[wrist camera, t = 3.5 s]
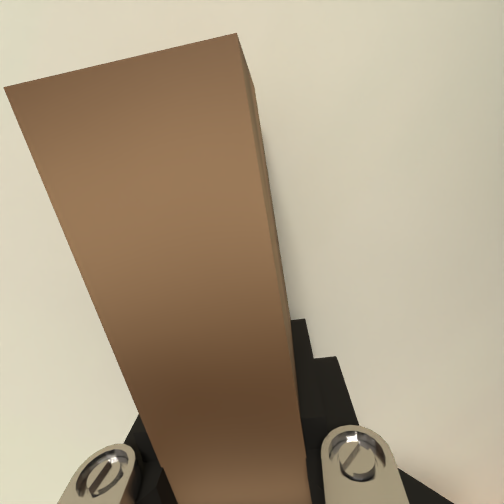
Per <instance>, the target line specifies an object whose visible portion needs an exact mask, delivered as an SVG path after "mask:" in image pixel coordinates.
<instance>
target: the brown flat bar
mask: <svg viewBox="0 0 504 504" xmlns="http://www.w3.org/2000/svg"><path fill="white" fill-rule="evenodd" d="M4 90H5V92H6V95H7V97H8V99H9V102H10V104H11V107H12V109H13V111H14V114H15V116H16V119H17V121H18V124H19V126H20V128H21V131H22V133H23V136H24V138H25V140H26V143H27V145H28V148H29V150H30V152H31V155H32V157H33V160H34V162H35V164H36V167H37V169H38V172H39V174H40V176H41V179H42V181H43V184H44V186H45V189H46V191H47V193H48V196H49V198H50V201H51V203H52V205H53V208H54V210H55V213H56V215H57V217H58V220H59V222H60V225H61V227H62V229H63V232H64V234H65V237H66V239H67V241H68V244H69V246H70V249H71V251H72V254H73V256H74V258H75V261H76V263H77V266H78V268H79V270H80V273H81V275H82V278H83V280H84V282H85V285H86V287H87V290H88V292H89V294H90V297H91V299H92V302H93V304H94V306H95V309H96V311H97V314H98V316H99V319H100V321H101V323H102V326H103V328H104V331H105V333H106V335H107V338H108V340H109V343H110V345H111V347H112V350H113V352H114V355H115V357H116V359H117V362H118V364H119V367H120V369H121V371H122V374H123V376H124V379H125V381H126V384H127V386H128V388H129V391H130V393H131V396H132V398H133V400H134V403H135V405H136V408H137V410H138V412H139V415H140V417H141V420H142V422H143V424H144V427H145V429H146V432H147V434H148V436H149V439H150V441H151V444H152V446H153V449H154V451H155V453H156V456H157V458H158V461H159V463H160V465H161V467H163V469H164V471H165V473H166V476H167V478H168V481H169V483H170V486H171V488H172V490H173V493H174V495H175V498H176V500H177V502H178V504H312V501H311V495H310V488H309V482H308V476H307V467H306V449H305V443H304V437H303V430H302V424H301V417H300V408H299V398H298V388H297V379H296V369H295V359H294V350H293V340H292V331H291V320H290V314H289V308H288V301H287V295H286V288H285V282H284V275H283V269H282V262H281V256H280V250H279V243H278V237H277V230H276V224H275V217H274V211H273V204H272V198H271V192H270V185H269V179H268V172H267V166H266V159H265V153H264V146H263V140H262V134H261V127H260V121H259V114H258V108H257V101H256V95H255V88H254V85H253V82H252V78H251V75H250V72H249V69H248V66H247V63H246V60H245V57H244V54H243V51H242V48H241V45H240V42H239V38H238V35H237V33H234V34H230V35H225V36H221V37H217V38H213V39H208V40H204V41H200V42H195V43H191V44H187V45H183V46H178V47H174V48H170V49H166V50H161V51H157V52H153V53H148V54H144V55H140V56H136V57H131V58H127V59H123V60H118V61H114V62H110V63H106V64H101V65H97V66H93V67H88V68H84V69H80V70H76V71H71V72H67V73H63V74H59V75H54V76H50V77H46V78H41V79H37V80H33V81H29V82H24V83H20V84H16V85H11V86H7V87H4Z"/></svg>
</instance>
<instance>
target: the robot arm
mask: <svg viewBox="0 0 504 504" xmlns="http://www.w3.org/2000/svg"><path fill="white" fill-rule="evenodd" d="M291 331H292V340H293V350H294V359H295V369H296V379H297V388H298V398H299V408H300V417H301V424H302V430H303V437H304V443H305V449H306V467H307V476H308V482H309V488H310V495H311V501H312V504H454V503H452V502H451V501H449V500H447V499H446V498H444V497H443V496H441V495H440V494H438V493H436V492H435V491H433V490H432V489H430V488H429V487H427V486H425V485H424V484H422V483H421V482H419V481H418V480H416V479H414V478H413V477H411V476H410V475H408V474H407V473H405V472H403V471H402V470H400V469H399V468H397V465H396V462H395V459H394V456H393V454H392V452H391V450H390V448H389V446H388V444H387V443H386V442H385V441H384V440H383V439H382V437H381V436H380V435H378V434H376V433H375V432H373V431H372V430H370V429H367V428H365V427H362V426H359V424H358V421H357V417H356V414H355V411H354V408H353V405H352V402H351V399H350V396H349V393H348V390H347V387H346V384H345V381H344V378H343V375H342V372H341V369H340V366H339V363H338V360H337V357H336V356H335V357H325V358H316V359H314V358H313V354H312V349H311V344H310V339H309V335H308V330H307V325H306V320H305V319H298V320H291ZM57 504H178V502H177V500H176V498H175V495H174V493H173V490H172V488H171V486H170V483H169V481H168V478H167V476H166V473H165V471H164V469H163V467H161V465H160V463H159V461H158V458H157V456H156V453H155V451H154V449H153V446H152V444H151V441H150V439H149V436H148V434H147V432H146V429H145V427H144V424H143V422H142V420H141V417H140V415H138V417H137V419H136V421H135V422H134V424H133V426H132V428H131V430H130V432H129V434H128V436H127V438H126V440H125V442H124V444H114V445H110V446H107V447H105V448H103V449H101V450H99V451H97V452H96V453H94V454H93V455H92V456H90V457H89V458H88V459H87V460H86V461H85V462H84V463H83V464H82V465H81V466H80V467H79V468H78V469H77V471H76V472H75V474H74V475H73V477H72V478H71V480H70V482H69V484H68V485H67V487H66V489H65V491H64V492H63V494H62V496H61V498H60V499H59V501H58V503H57Z"/></svg>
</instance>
